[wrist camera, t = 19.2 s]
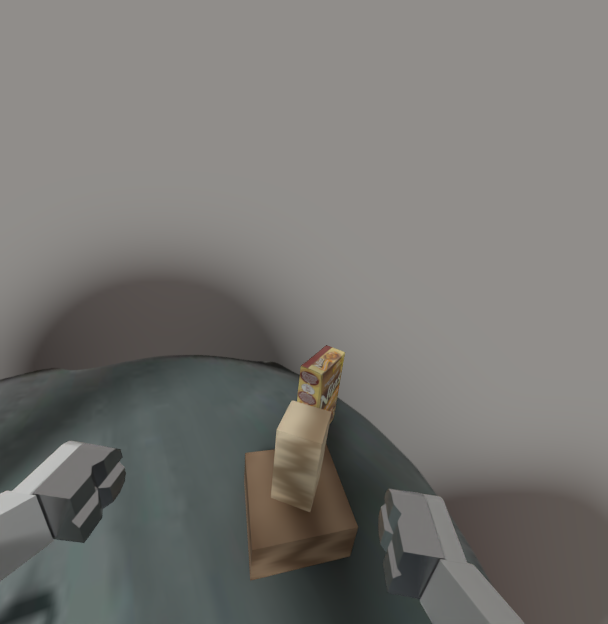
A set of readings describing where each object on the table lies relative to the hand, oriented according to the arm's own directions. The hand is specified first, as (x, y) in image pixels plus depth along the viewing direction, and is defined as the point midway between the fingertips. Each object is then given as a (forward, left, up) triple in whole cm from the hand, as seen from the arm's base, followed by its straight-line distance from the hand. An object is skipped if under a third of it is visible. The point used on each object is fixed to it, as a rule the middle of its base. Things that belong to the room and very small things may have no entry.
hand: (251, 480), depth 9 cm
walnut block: (+2, +19, -32) cm, 38 cm away
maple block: (+2, +19, -26) cm, 33 cm away
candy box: (+4, +35, -32) cm, 48 cm away
